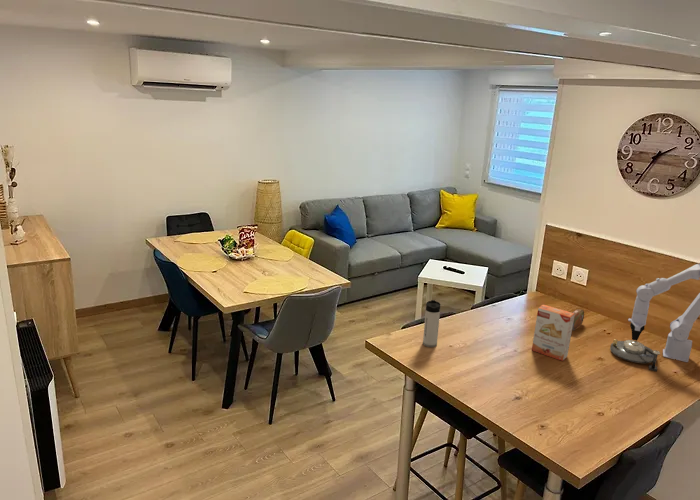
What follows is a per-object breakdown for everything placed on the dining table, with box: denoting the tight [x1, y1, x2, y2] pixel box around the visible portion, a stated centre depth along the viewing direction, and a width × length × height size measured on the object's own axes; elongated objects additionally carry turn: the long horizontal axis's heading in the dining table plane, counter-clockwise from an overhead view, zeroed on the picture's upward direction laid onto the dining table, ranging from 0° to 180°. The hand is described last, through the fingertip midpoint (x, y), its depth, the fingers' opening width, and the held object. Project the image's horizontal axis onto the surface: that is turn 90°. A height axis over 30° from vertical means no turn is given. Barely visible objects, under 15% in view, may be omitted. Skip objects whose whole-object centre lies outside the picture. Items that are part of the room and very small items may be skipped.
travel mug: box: [422, 299, 441, 348], centre depth 233 cm, size 6×7×20 cm
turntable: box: [609, 338, 654, 364], centre depth 231 cm, size 18×18×4 cm
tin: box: [571, 308, 585, 331], centre depth 258 cm, size 15×3×8 cm, turn 136°
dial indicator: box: [644, 348, 661, 372], centre depth 222 cm, size 6×6×8 cm
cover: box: [623, 339, 646, 355], centre depth 231 cm, size 8×8×4 cm
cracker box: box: [531, 304, 575, 362], centre depth 228 cm, size 14×6×21 cm, turn 49°
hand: (634, 339), depth 239 cm, fingers closed
